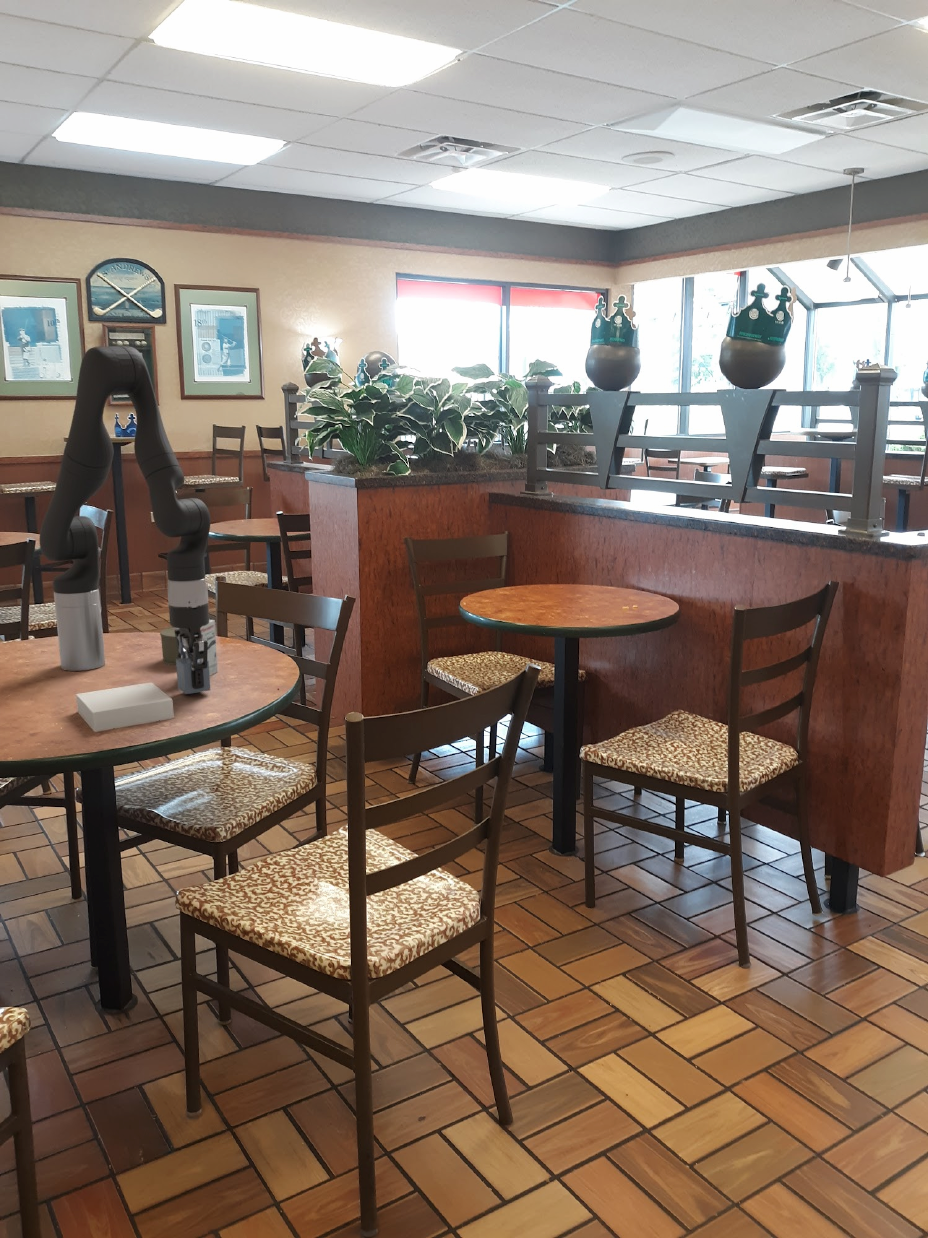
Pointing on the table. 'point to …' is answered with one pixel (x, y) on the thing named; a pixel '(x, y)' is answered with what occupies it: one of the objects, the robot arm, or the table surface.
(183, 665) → the slate block
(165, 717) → the white square slab
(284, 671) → the table surface
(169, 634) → the can
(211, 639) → the ink box
